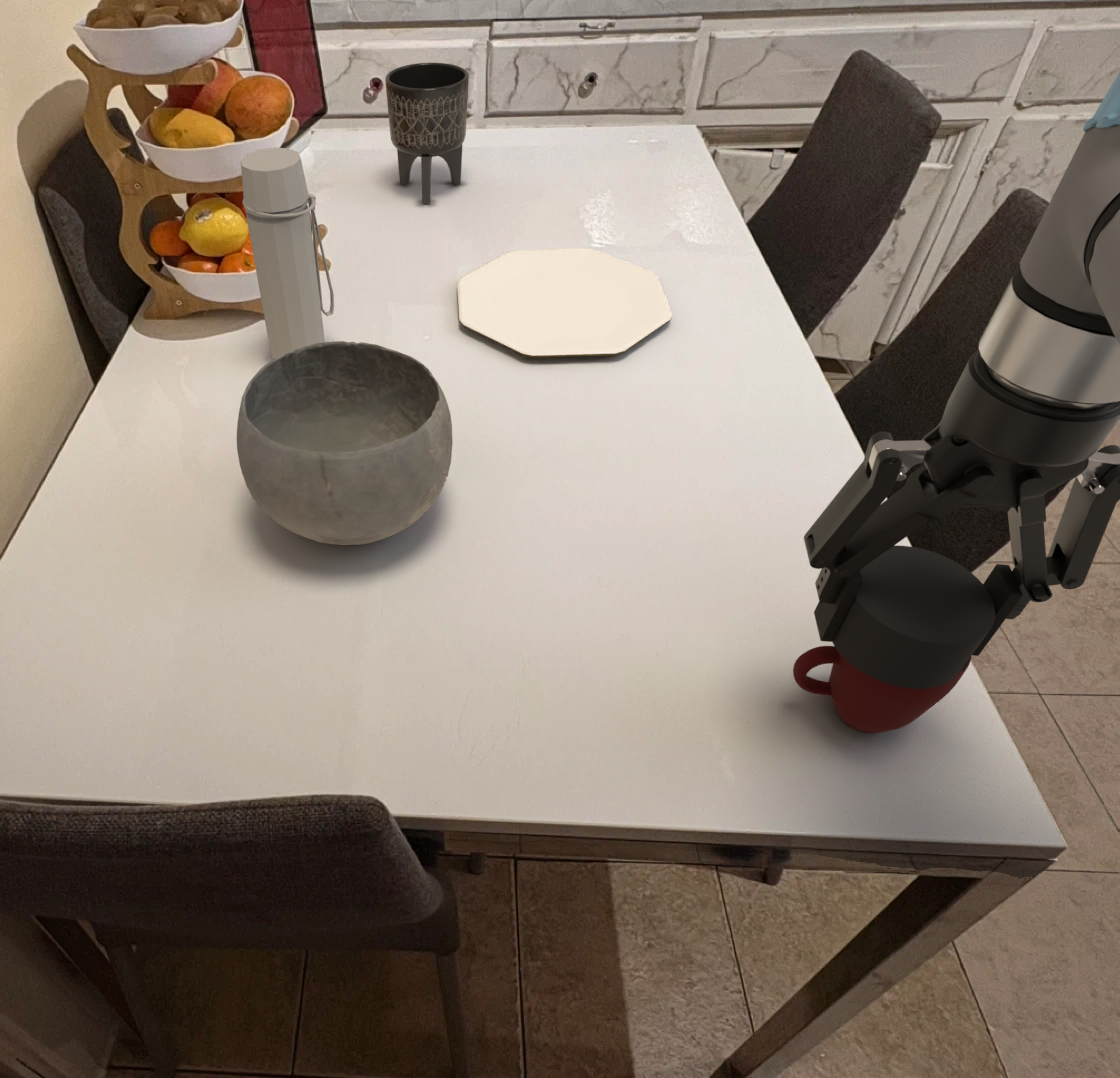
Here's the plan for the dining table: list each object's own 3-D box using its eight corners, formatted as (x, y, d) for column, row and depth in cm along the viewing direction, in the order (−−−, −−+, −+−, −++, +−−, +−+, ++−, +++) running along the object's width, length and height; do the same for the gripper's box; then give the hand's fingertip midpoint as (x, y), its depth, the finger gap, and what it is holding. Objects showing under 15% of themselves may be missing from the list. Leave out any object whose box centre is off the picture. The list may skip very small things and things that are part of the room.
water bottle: (285, 382, 104) (250, 179, 86) (261, 352, 109) (224, 154, 91) (351, 360, 107) (331, 159, 89) (325, 332, 112) (302, 136, 94)
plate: (685, 361, 103) (687, 350, 102) (461, 366, 105) (461, 356, 104) (644, 255, 123) (646, 245, 122) (455, 261, 124) (455, 251, 123)
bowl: (458, 580, 80) (459, 458, 69) (243, 588, 80) (212, 469, 69) (446, 443, 94) (445, 325, 84) (264, 451, 95) (241, 335, 84)
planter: (465, 206, 137) (467, 89, 124) (386, 206, 138) (380, 90, 126) (469, 174, 146) (470, 61, 133) (395, 174, 147) (390, 62, 135)
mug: (795, 757, 65) (837, 683, 58) (765, 672, 71) (800, 594, 64) (934, 756, 65) (994, 681, 58) (893, 670, 70) (942, 592, 63)
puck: (978, 628, 61) (1011, 582, 57) (942, 712, 56) (975, 667, 53) (851, 573, 65) (874, 527, 62) (807, 647, 60) (829, 601, 57)
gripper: (1245, 341, 46) (1039, 608, 62) (823, 323, 49) (731, 581, 65) (1329, 426, 40) (1080, 693, 56) (850, 399, 44) (743, 659, 60)
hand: (893, 633), depth 61 cm, fingers closed on puck, 9 cm apart
